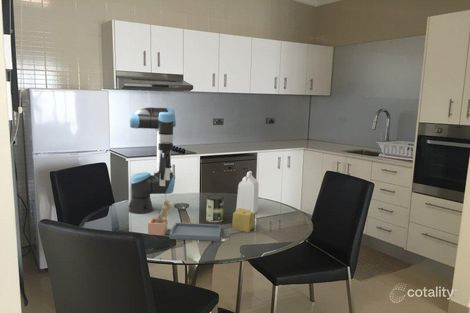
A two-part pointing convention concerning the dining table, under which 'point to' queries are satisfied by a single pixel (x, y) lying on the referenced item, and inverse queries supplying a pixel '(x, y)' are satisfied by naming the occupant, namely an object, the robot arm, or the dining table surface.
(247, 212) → the cheese
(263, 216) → the dining table surface
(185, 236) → the slate tray
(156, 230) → the pink open cubby
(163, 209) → the light wooden bar
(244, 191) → the milk
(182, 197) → the dining table surface
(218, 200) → the coffee can
